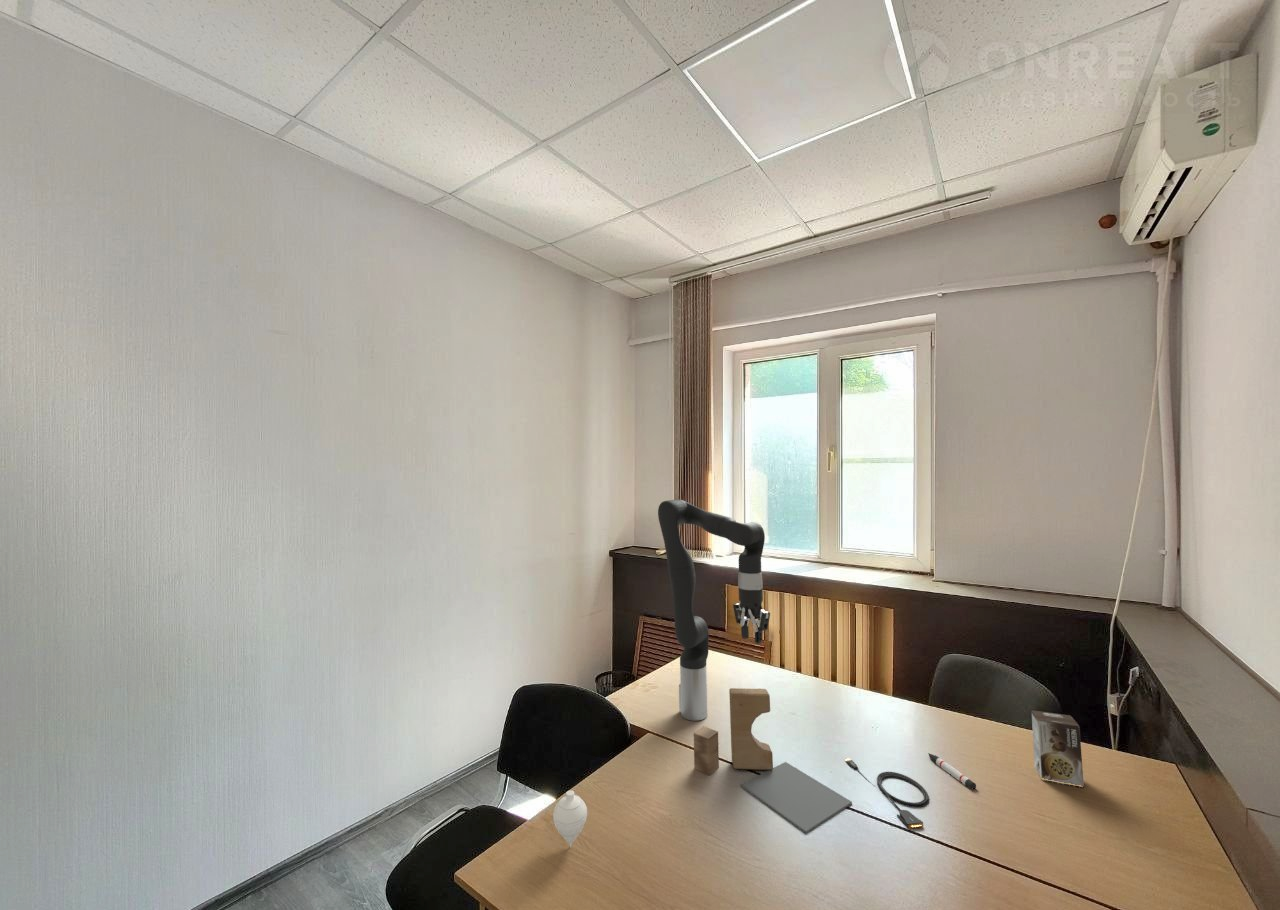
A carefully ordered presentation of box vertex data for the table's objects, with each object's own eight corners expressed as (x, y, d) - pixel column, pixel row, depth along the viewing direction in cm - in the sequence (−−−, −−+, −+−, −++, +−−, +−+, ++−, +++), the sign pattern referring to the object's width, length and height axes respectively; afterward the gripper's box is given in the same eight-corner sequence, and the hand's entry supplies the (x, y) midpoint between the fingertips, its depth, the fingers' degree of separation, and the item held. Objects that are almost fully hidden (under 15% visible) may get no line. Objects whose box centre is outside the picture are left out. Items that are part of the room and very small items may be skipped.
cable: (887, 758, 143) (887, 753, 143) (962, 826, 115) (961, 820, 115) (844, 762, 142) (844, 757, 142) (909, 832, 114) (908, 826, 114)
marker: (976, 789, 128) (976, 782, 128) (970, 790, 128) (969, 783, 128) (931, 757, 143) (930, 750, 143) (925, 757, 143) (925, 750, 143)
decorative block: (770, 761, 142) (766, 688, 145) (773, 770, 136) (769, 694, 139) (731, 760, 143) (729, 687, 146) (733, 769, 137) (730, 693, 140)
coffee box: (1075, 775, 133) (1071, 715, 134) (1084, 789, 127) (1081, 726, 128) (1033, 767, 137) (1030, 709, 138) (1040, 780, 131) (1037, 719, 132)
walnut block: (694, 768, 139) (693, 732, 139) (704, 760, 143) (703, 725, 143) (709, 775, 136) (708, 738, 136) (718, 767, 139) (718, 731, 140)
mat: (740, 786, 131) (740, 784, 131) (785, 763, 141) (785, 761, 141) (805, 833, 113) (805, 831, 113) (851, 803, 123) (851, 801, 123)
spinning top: (558, 864, 105) (557, 807, 106) (550, 840, 112) (549, 787, 113) (592, 853, 108) (591, 797, 109) (582, 830, 115) (581, 778, 116)
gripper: (725, 583, 158) (727, 637, 157) (759, 592, 146) (760, 649, 145) (742, 580, 162) (743, 632, 161) (776, 588, 150) (777, 644, 149)
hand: (751, 640), depth 153 cm, fingers open, 5 cm apart
